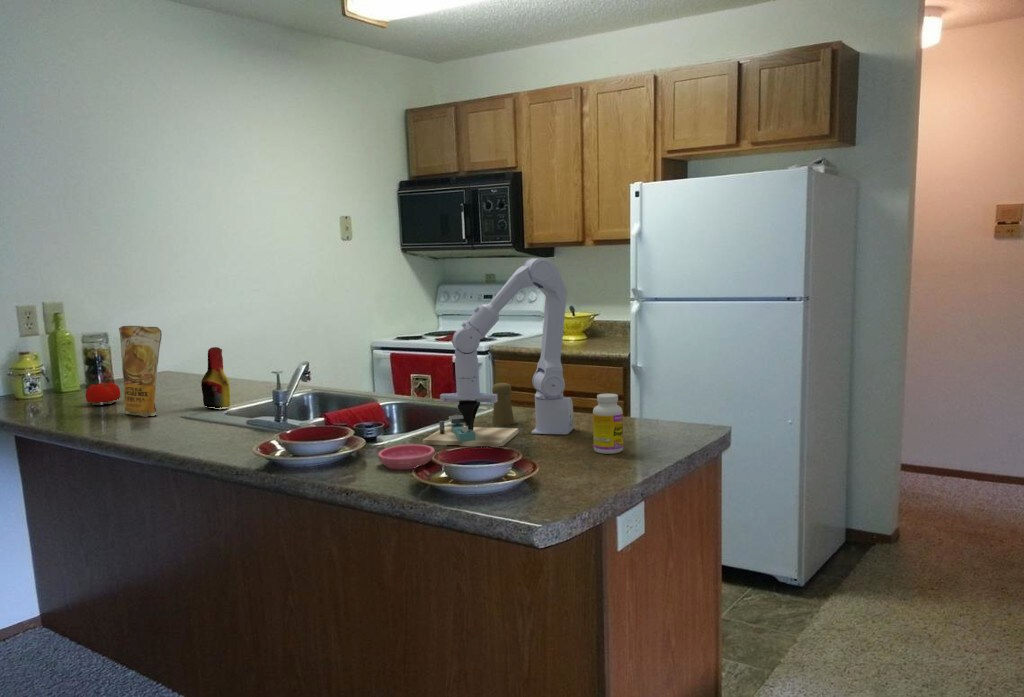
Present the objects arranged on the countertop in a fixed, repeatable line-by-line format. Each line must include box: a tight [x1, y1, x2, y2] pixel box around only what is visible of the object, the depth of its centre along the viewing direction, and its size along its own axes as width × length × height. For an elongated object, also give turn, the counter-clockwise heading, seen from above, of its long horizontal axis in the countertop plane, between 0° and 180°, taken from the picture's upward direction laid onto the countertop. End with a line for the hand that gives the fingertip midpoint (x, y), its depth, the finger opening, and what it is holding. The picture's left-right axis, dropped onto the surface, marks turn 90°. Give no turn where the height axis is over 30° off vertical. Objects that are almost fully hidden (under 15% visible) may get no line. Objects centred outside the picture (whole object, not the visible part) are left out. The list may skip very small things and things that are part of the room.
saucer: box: [377, 443, 436, 471], centre depth 168 cm, size 12×12×3 cm
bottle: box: [200, 346, 231, 408], centre depth 244 cm, size 12×6×20 cm, turn 52°
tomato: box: [85, 381, 121, 403], centre depth 262 cm, size 11×11×8 cm
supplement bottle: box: [592, 393, 624, 455], centre depth 172 cm, size 7×7×13 cm
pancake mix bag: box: [118, 325, 162, 413], centre depth 239 cm, size 7×19×28 cm, turn 57°
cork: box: [491, 382, 515, 427], centre depth 206 cm, size 6×6×11 cm
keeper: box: [438, 414, 466, 434], centre depth 194 cm, size 6×7×5 cm
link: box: [450, 423, 475, 441], centre depth 188 cm, size 13×4×2 cm, turn 16°
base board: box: [422, 426, 520, 447], centre depth 190 cm, size 20×15×1 cm
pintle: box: [462, 424, 469, 433], centre depth 184 cm, size 1×1×3 cm
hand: (470, 430), depth 190 cm, fingers closed, pressing on link
